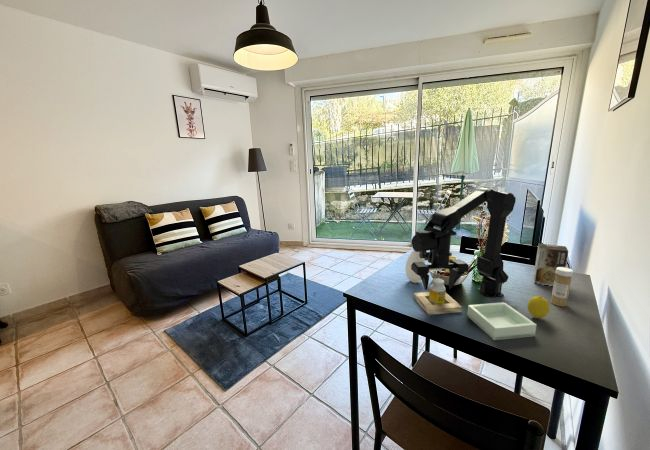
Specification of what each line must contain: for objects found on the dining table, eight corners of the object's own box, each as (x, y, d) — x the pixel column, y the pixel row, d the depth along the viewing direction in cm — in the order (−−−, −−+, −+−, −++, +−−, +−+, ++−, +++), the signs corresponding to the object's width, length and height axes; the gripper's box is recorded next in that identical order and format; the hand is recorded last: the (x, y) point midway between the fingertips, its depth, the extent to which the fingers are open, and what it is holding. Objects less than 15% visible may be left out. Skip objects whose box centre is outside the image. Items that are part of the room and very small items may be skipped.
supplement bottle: (434, 299, 105) (436, 276, 102) (447, 305, 100) (449, 281, 98) (425, 303, 102) (427, 279, 100) (438, 310, 98) (440, 285, 95)
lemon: (548, 324, 88) (552, 302, 86) (526, 319, 91) (530, 297, 89) (545, 316, 92) (549, 294, 90) (525, 311, 95) (529, 290, 93)
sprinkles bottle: (568, 304, 99) (575, 269, 96) (563, 308, 97) (570, 272, 93) (553, 299, 103) (559, 265, 99) (547, 302, 100) (554, 268, 97)
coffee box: (559, 282, 115) (566, 246, 111) (561, 289, 110) (569, 250, 106) (532, 278, 120) (538, 242, 116) (533, 284, 115) (539, 247, 111)
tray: (502, 312, 95) (504, 302, 94) (534, 336, 82) (536, 324, 81) (467, 315, 94) (468, 305, 93) (493, 340, 81) (495, 328, 80)
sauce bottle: (413, 276, 125) (416, 238, 120) (428, 283, 118) (430, 243, 114) (401, 280, 121) (403, 241, 117) (415, 287, 114) (417, 246, 110)
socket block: (443, 295, 108) (443, 290, 107) (461, 311, 96) (461, 306, 95) (413, 297, 106) (414, 292, 106) (428, 314, 95) (428, 309, 94)
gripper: (453, 239, 105) (450, 277, 108) (406, 242, 103) (404, 281, 107) (471, 249, 94) (467, 291, 98) (419, 252, 92) (416, 295, 96)
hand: (437, 289), depth 100 cm, fingers open, 9 cm apart
